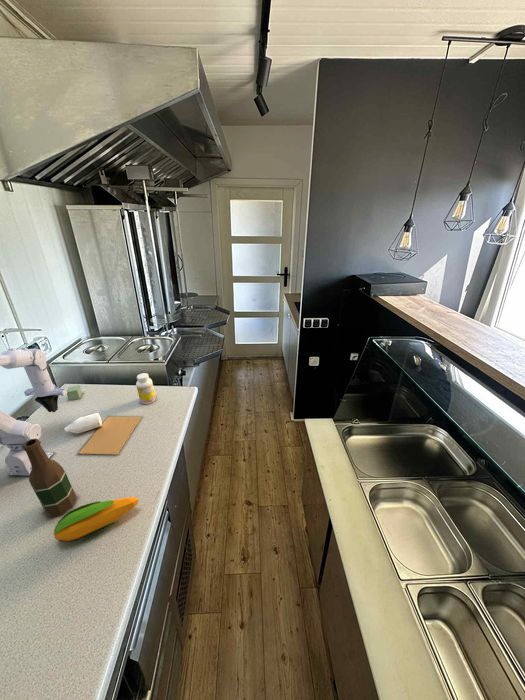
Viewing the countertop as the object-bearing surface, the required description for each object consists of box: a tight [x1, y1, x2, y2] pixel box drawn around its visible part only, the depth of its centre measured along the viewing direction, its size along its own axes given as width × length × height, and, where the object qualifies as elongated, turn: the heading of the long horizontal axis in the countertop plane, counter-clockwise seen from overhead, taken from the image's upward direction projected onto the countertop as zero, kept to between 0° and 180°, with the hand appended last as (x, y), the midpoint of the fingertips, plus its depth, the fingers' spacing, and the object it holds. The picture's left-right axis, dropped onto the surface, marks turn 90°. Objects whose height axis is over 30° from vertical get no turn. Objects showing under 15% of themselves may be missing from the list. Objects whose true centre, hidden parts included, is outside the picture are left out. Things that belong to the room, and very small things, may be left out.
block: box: [66, 384, 83, 401], centre depth 131 cm, size 4×4×4 cm
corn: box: [53, 496, 139, 543], centre depth 76 cm, size 7×8×20 cm
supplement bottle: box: [135, 372, 157, 405], centre depth 126 cm, size 7×7×13 cm
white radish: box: [63, 412, 103, 434], centre depth 110 cm, size 6×12×6 cm, turn 118°
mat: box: [78, 416, 142, 456], centre depth 109 cm, size 20×14×1 cm
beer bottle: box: [23, 438, 77, 517], centre depth 78 cm, size 8×8×24 cm
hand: (53, 410), depth 108 cm, fingers closed
